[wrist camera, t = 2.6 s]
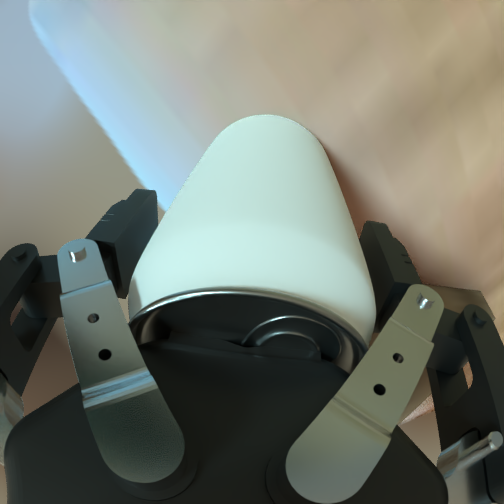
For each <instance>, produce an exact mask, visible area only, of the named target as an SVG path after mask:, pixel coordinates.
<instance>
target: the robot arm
mask: <svg viewBox="0 0 504 504" xmlns="http://www.w3.org/2000/svg"><path fill="white" fill-rule="evenodd" d="M157 227H158V211H157V194H156V191H155V190H145V189H136V190H135V191H134V192H133V193H132V194H131V195H130V196H129V197H128V199H127V200H121V201H120V202H118V203H116V204H114V205H113V206H112V207H111V208H110V209H109V210H108V211H107V212H106V215H104V216H103V217H102V218H101V221H99V222H98V223H97V224H96V225H95V227H94V228H93V229H92V230H91V231H90V233H89V234H88V235H87V237H86V238H85V239H76V240H73V241H70V242H68V243H66V244H65V245H64V246H63V247H61V248H60V250H59V252H58V254H57V255H49V256H39V253H38V250H37V248H36V246H35V245H33V244H29V243H25V244H20V245H17V246H15V247H13V248H11V249H10V250H9V251H8V252H7V253H6V254H5V255H4V256H3V257H2V259H1V260H0V464H1V465H3V466H4V468H5V474H6V482H7V504H504V345H503V343H502V341H501V338H500V336H499V334H498V331H497V329H496V327H495V325H494V322H493V320H492V318H491V317H490V315H489V314H488V313H487V312H486V311H485V310H484V309H483V308H481V307H479V306H477V305H474V304H468V305H466V306H465V307H464V309H463V310H462V312H461V313H457V312H454V311H452V310H449V309H446V308H444V303H443V300H442V298H441V297H440V296H439V294H438V293H437V292H436V291H434V290H433V289H431V288H430V287H428V286H425V285H423V284H422V282H421V280H420V278H419V276H418V274H417V272H416V269H415V267H414V265H413V264H412V261H411V259H410V257H408V256H409V255H408V253H407V251H406V249H405V247H404V246H403V245H402V244H401V243H400V242H399V241H398V240H397V239H396V238H393V237H392V235H391V233H390V231H389V229H388V227H387V225H386V224H384V223H379V222H374V221H366V223H365V224H364V227H363V230H362V233H361V236H360V238H359V242H360V245H361V248H362V251H363V255H364V258H365V261H366V265H367V268H368V271H369V275H370V279H371V283H372V287H373V291H374V296H375V304H376V319H375V325H374V330H373V333H380V334H379V335H378V337H377V338H376V340H375V341H374V343H373V344H372V346H371V347H370V349H369V350H368V351H367V353H366V354H365V356H364V357H363V359H362V360H361V361H360V363H359V364H358V366H357V367H356V368H355V370H354V371H353V372H352V374H351V375H350V374H349V373H348V372H347V371H345V370H344V369H342V368H341V367H339V366H337V365H335V364H333V363H331V362H329V361H326V360H324V359H321V352H320V351H319V352H313V351H309V350H300V349H291V348H281V347H272V346H261V347H242V346H239V345H236V344H233V343H231V342H228V341H225V340H221V339H214V338H208V337H202V336H196V335H190V334H184V333H179V332H173V331H171V333H170V336H169V339H160V340H154V341H150V342H146V343H143V344H140V345H138V346H137V345H136V342H135V340H134V338H133V335H132V333H131V331H130V328H129V326H128V323H127V321H126V319H125V316H124V314H123V311H122V309H121V306H120V303H119V301H118V298H122V299H126V297H127V295H128V293H129V286H130V282H131V279H132V276H133V273H134V271H135V268H136V266H137V263H138V261H139V260H140V258H141V256H142V254H143V252H144V250H145V248H146V246H147V244H148V243H149V241H150V239H151V237H152V236H153V234H154V232H155V230H156V229H157ZM18 301H20V303H21V306H22V309H21V310H20V312H19V314H18V315H17V317H16V319H15V320H14V322H13V324H12V326H11V325H10V317H11V313H12V311H13V310H14V308H15V306H16V304H17V303H18ZM58 317H63V318H64V323H65V328H66V333H67V337H68V342H69V346H70V350H71V355H72V358H73V362H74V366H75V370H76V373H77V377H78V381H79V383H77V384H76V385H74V386H72V387H71V388H69V389H68V390H66V391H65V392H63V393H62V394H60V395H58V396H57V397H55V398H54V399H52V400H50V401H49V402H48V403H46V404H44V405H42V406H41V407H39V408H38V409H36V410H35V411H33V412H31V413H30V414H28V415H27V416H25V417H24V416H23V412H24V407H23V406H24V405H23V401H22V398H21V396H22V393H23V391H24V389H25V386H26V384H27V382H28V379H29V377H30V374H31V372H32V370H33V368H34V366H35V363H36V361H37V359H38V357H39V354H40V352H41V350H42V348H43V346H44V344H45V342H46V340H47V338H48V336H49V334H50V332H51V330H52V328H53V326H54V324H55V322H56V320H57V318H58ZM468 361H469V364H470V367H471V370H472V374H473V381H472V385H471V387H470V388H469V389H468V385H467V382H466V378H465V375H464V371H463V367H464V366H465V364H466V363H467V362H468ZM425 366H426V369H427V373H428V378H429V383H430V387H431V392H432V397H433V402H434V408H435V413H436V419H437V424H438V431H439V438H440V445H441V454H440V455H439V457H438V460H437V467H436V466H435V465H434V464H433V463H432V462H431V461H430V460H429V459H428V458H427V457H426V455H425V454H424V453H423V452H422V451H421V450H420V449H419V448H418V447H417V446H416V445H415V444H414V442H413V441H412V440H411V439H410V438H409V437H408V436H407V435H406V434H405V433H404V432H403V431H402V430H401V428H400V427H399V426H398V425H397V422H398V421H399V419H400V417H401V415H402V413H403V411H404V409H405V407H406V406H407V404H408V402H409V400H410V398H411V396H412V394H413V392H414V390H415V387H416V385H417V383H418V381H419V379H420V377H421V375H422V372H423V370H424V368H425Z"/></svg>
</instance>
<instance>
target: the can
mask: <svg viewBox="0 0 504 504" xmlns="http://www.w3.org/2000/svg"><path fill="white" fill-rule="evenodd" d="M128 296H129V297H128V309H129V319H130V322H129V323H128V326H129V328H130V331H131V333H132V335H133V338H134V340H135V342H136V345H137V346H138V345H140V344H143V343H146V342H150V341H154V340H160V339H169V336H170V333H171V331H173V332H179V333H184V334H190V335H196V336H202V337H208V338H214V339H221V340H225V341H228V342H231V343H233V344H236V345H239V346H242V347H261V346H272V347H281V348H291V349H300V350H309V351H313V352H319V351H320V352H321V359H324V360H326V361H329V362H331V363H333V364H335V365H337V366H339V367H341V368H342V369H344V370H345V371H347V372H348V373H349V374H350V375H351V374H352V372H353V371H354V370H355V368H356V367H357V366H358V364H359V363H360V361H361V360H362V359H363V357H364V356H365V354H366V353H367V351H368V350H369V349H368V346H369V343H370V340H371V337H372V334H373V330H374V325H375V319H376V304H375V296H374V291H373V287H372V283H371V279H370V275H369V271H368V268H367V265H366V261H365V258H364V255H363V251H362V248H361V245H360V242H359V239H358V236H357V233H356V230H355V227H354V224H353V221H352V219H351V216H350V213H349V210H348V207H347V205H346V202H345V199H344V197H343V194H342V191H341V189H340V186H339V184H338V181H337V179H336V176H335V174H334V171H333V169H332V166H331V164H330V161H329V159H328V157H327V155H326V152H325V150H324V148H323V147H322V145H321V144H320V142H319V141H318V140H317V139H316V137H315V136H314V135H313V134H312V133H311V132H309V131H308V130H307V129H306V128H304V127H303V126H301V125H300V124H298V123H296V122H295V121H293V120H290V119H288V118H285V117H281V116H276V115H255V116H250V117H246V118H243V119H241V120H238V121H236V122H234V123H233V124H231V125H230V126H228V127H227V128H225V129H224V130H223V131H222V132H221V133H220V134H219V135H218V136H217V137H216V138H215V140H214V141H213V142H212V144H211V145H210V146H209V148H208V149H207V150H206V152H205V153H204V155H203V156H202V158H201V159H200V161H199V162H198V164H197V165H196V166H195V168H194V169H193V171H192V172H191V174H190V175H189V177H188V179H187V180H186V182H185V183H184V185H183V186H182V188H181V189H180V191H179V193H178V194H177V196H176V197H175V199H174V200H173V202H172V204H171V205H170V207H169V209H168V210H167V212H166V213H165V215H164V217H163V218H162V220H161V222H160V223H159V225H158V227H157V229H156V230H155V232H154V234H153V236H152V237H151V239H150V241H149V243H148V244H147V246H146V248H145V250H144V252H143V254H142V256H141V258H140V260H139V261H138V263H137V266H136V268H135V271H134V273H133V276H132V279H131V282H130V286H129V295H128Z"/></svg>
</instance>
